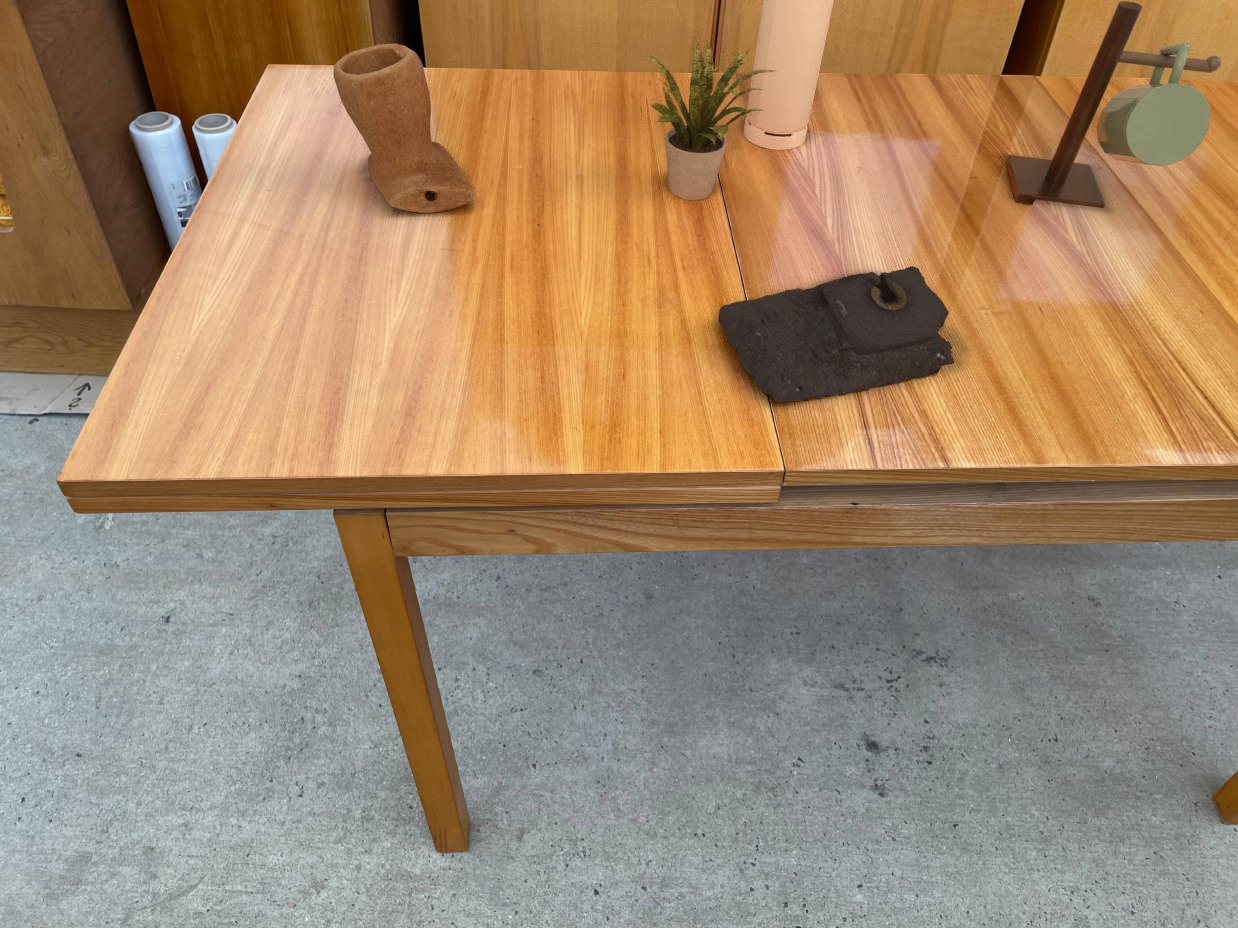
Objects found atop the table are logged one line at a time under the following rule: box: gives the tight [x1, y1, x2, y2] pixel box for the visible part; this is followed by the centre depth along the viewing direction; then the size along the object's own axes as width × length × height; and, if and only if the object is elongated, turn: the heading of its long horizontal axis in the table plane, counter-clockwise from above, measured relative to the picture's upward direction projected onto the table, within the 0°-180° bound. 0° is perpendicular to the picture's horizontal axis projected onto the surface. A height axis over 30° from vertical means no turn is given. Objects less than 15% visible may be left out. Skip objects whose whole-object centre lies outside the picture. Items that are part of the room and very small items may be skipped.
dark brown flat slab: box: [717, 266, 956, 403], centre depth 85 cm, size 15×22×5 cm
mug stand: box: [1005, 0, 1222, 209], centre depth 102 cm, size 17×10×21 cm, turn 80°
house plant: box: [646, 39, 779, 201], centre depth 99 cm, size 14×14×16 cm
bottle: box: [743, 0, 835, 151], centre depth 106 cm, size 8×8×28 cm
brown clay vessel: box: [332, 43, 477, 214], centre depth 97 cm, size 15×12×15 cm
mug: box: [1096, 42, 1211, 167], centre depth 98 cm, size 12×8×9 cm
